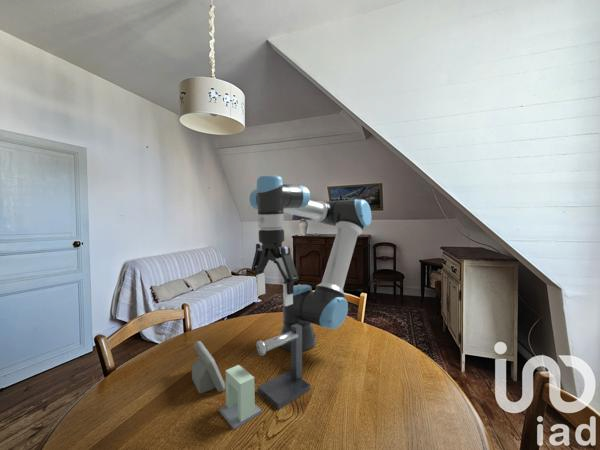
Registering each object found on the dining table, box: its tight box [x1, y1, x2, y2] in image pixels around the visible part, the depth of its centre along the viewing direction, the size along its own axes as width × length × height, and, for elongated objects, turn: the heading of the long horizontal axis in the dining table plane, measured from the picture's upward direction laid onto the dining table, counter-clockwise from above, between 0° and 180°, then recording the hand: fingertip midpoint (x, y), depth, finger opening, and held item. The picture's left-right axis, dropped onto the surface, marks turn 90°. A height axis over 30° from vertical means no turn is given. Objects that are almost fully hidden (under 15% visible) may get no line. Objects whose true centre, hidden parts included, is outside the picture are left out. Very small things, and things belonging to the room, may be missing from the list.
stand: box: [255, 324, 311, 410], centre depth 77 cm, size 10×14×18 cm
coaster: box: [218, 403, 262, 430], centre depth 70 cm, size 8×8×1 cm
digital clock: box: [191, 340, 226, 395], centre depth 83 cm, size 16×9×11 cm, turn 24°
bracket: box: [225, 364, 256, 422], centre depth 69 cm, size 8×4×10 cm, turn 42°
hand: (274, 299), depth 79 cm, fingers open, 13 cm apart
